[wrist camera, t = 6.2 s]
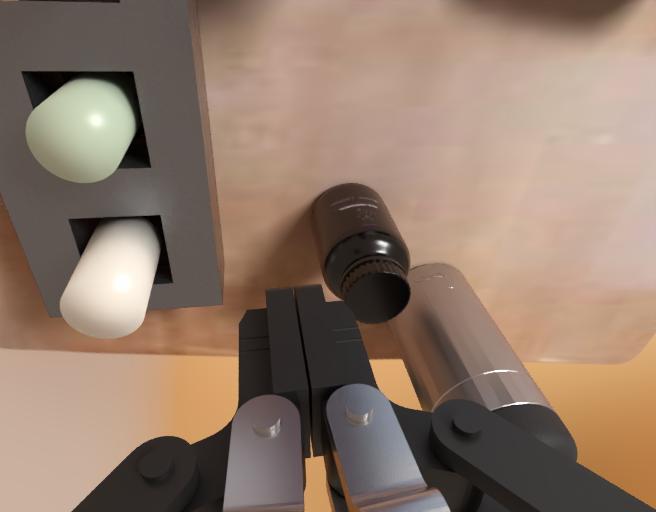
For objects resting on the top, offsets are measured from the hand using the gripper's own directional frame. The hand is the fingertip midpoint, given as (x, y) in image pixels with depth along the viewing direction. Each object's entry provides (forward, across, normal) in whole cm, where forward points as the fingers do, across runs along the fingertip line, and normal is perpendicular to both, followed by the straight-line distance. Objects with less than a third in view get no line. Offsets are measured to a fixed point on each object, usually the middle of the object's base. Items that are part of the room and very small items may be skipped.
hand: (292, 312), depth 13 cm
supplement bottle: (+27, -7, +11) cm, 30 cm away
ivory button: (+22, +11, +10) cm, 26 cm away
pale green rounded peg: (+25, +10, 0) cm, 27 cm away
